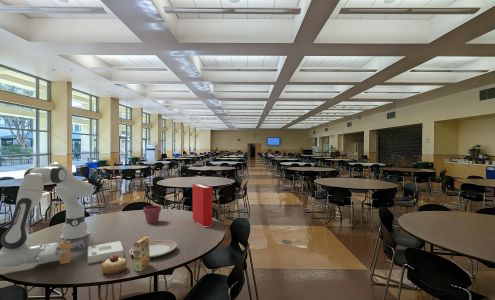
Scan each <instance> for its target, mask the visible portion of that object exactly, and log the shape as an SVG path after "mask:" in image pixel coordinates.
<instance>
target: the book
mask: <svg viewBox="0 0 495 300" xmlns="http://www.w3.org/2000/svg"><path fill="white" fill-rule="evenodd" d="M193 219H194V220H195V221H197V222H198V223H200V224H201V225H203V226H210V225H212V226H213V186H211V185H207V184H204V183H199V184H192V220H193ZM195 221H194V222H195ZM198 223H197V224H198Z"/></svg>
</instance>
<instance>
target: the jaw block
mask: <svg viewBox="0 0 495 300" xmlns="http://www.w3.org/2000/svg"><path fill="white" fill-rule="evenodd" d="M70 245H71V240H67V239H63V241H60V243H59V246H60V251H61V250H63V249H67V253H63V254H61V255H59V264H60V265H64V264H68V263H71V248H70Z"/></svg>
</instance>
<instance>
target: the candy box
mask: <svg viewBox="0 0 495 300" xmlns="http://www.w3.org/2000/svg"><path fill="white" fill-rule="evenodd" d="M149 241H150V237H149V236H141V237H140V238H138V239H137V240H135V241H134V242H133V247H134V255H133V265H134V266H133V267H134V268H133V270H134V272H142V271H143V270H145V269H146V268H147V267H149V266H150V263H151V261H150V259H151V258H150V256H149Z"/></svg>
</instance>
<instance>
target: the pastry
mask: <svg viewBox="0 0 495 300" xmlns="http://www.w3.org/2000/svg"><path fill="white" fill-rule="evenodd" d="M127 262H128V260H127V259H126V258H125V257H124V256H123V257H119V258H118V256H117V255H113V256H111V257H110V259H107V260H104V261H102V262H101V267H100V268H101V271H102V273H104V274H105V275H116V274H119V273H122V272H123V271H124V270H125V269H126V266H127V264H128V263H127Z"/></svg>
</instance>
